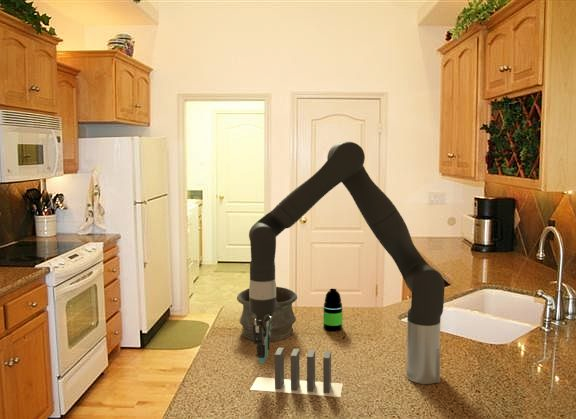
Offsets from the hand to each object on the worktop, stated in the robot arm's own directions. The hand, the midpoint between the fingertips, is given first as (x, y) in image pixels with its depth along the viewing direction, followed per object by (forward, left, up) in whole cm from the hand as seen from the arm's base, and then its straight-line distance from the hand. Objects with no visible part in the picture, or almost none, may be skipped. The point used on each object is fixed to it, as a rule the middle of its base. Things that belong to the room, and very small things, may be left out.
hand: (263, 353), depth 145 cm
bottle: (-15, -50, -10) cm, 53 cm away
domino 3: (-9, 0, -9) cm, 13 cm away
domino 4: (-14, 0, -9) cm, 16 cm away
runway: (-10, 0, -10) cm, 14 cm away
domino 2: (-5, 0, -9) cm, 10 cm away
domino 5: (-18, 0, -9) cm, 20 cm away
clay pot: (+8, -42, -10) cm, 44 cm away
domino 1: (0, 0, -2) cm, 2 cm away
